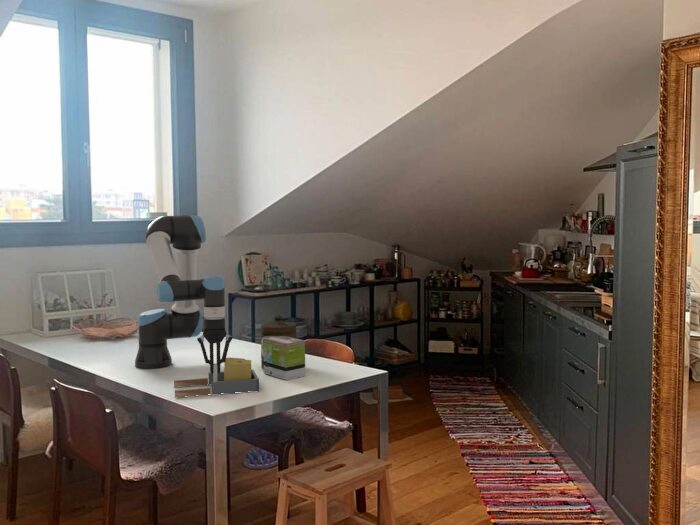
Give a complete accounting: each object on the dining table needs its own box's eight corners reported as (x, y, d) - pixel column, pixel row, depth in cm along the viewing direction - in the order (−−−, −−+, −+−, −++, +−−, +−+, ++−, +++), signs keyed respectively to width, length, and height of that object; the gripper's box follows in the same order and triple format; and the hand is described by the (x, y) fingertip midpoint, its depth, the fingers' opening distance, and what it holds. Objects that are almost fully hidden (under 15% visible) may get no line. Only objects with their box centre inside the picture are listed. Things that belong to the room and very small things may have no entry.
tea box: (262, 374, 283) (262, 337, 281) (282, 370, 289) (282, 334, 288) (286, 380, 272) (285, 342, 271) (306, 376, 279) (305, 339, 277)
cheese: (251, 383, 269) (252, 357, 268) (251, 390, 258) (252, 363, 257) (224, 383, 267) (224, 357, 267) (222, 390, 257) (223, 363, 256)
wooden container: (256, 371, 288) (255, 317, 286) (267, 363, 303) (266, 312, 301) (292, 372, 286) (291, 318, 284) (301, 364, 300) (300, 312, 298)
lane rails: (174, 386, 264) (173, 380, 264) (208, 384, 268) (207, 377, 267) (174, 397, 249) (174, 391, 249) (210, 395, 252) (210, 388, 252)
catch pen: (208, 384, 268) (208, 372, 267) (253, 381, 272) (253, 369, 272) (211, 395, 252) (211, 382, 252) (259, 391, 257) (258, 379, 256)
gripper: (196, 320, 253) (197, 385, 254) (233, 318, 256) (233, 383, 257) (196, 317, 260) (197, 380, 262) (231, 316, 263) (232, 378, 265)
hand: (215, 381), depth 260 cm, fingers closed
